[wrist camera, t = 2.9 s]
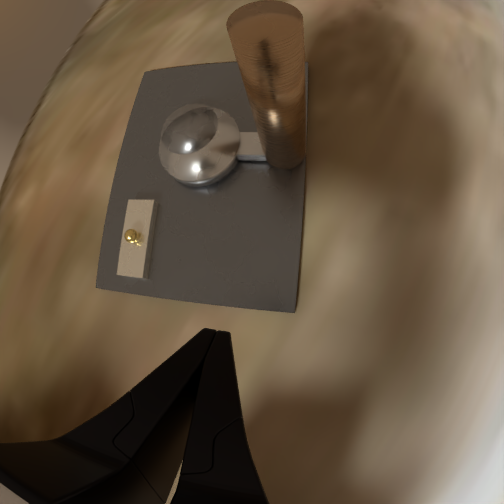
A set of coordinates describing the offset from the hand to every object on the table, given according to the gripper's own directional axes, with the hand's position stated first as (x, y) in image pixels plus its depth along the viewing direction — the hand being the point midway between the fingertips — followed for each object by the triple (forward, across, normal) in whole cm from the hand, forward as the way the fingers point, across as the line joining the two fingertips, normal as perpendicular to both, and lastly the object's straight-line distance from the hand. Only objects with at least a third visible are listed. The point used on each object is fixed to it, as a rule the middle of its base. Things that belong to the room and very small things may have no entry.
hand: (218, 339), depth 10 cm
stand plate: (+16, +5, -2) cm, 17 cm away
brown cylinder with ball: (+16, +3, -2) cm, 16 cm away
